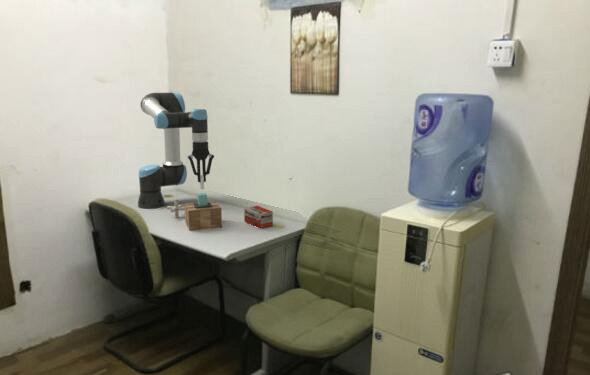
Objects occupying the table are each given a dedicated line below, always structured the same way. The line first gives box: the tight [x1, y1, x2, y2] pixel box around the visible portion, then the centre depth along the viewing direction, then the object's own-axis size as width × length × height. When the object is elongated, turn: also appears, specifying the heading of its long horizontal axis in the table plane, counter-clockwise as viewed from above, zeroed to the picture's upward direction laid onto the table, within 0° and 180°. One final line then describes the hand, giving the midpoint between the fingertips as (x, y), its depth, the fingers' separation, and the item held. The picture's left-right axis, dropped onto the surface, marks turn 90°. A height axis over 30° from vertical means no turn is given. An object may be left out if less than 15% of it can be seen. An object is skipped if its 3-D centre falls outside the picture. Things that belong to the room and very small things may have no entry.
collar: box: [192, 201, 212, 209], centre depth 228 cm, size 8×8×1 cm
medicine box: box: [243, 205, 274, 229], centre depth 231 cm, size 15×8×8 cm, turn 38°
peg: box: [197, 192, 208, 206], centre depth 227 cm, size 4×4×8 cm
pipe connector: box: [166, 198, 185, 219], centre depth 241 cm, size 10×10×10 cm
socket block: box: [184, 200, 223, 231], centre depth 229 cm, size 14×16×10 cm
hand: (202, 188), depth 226 cm, fingers closed
